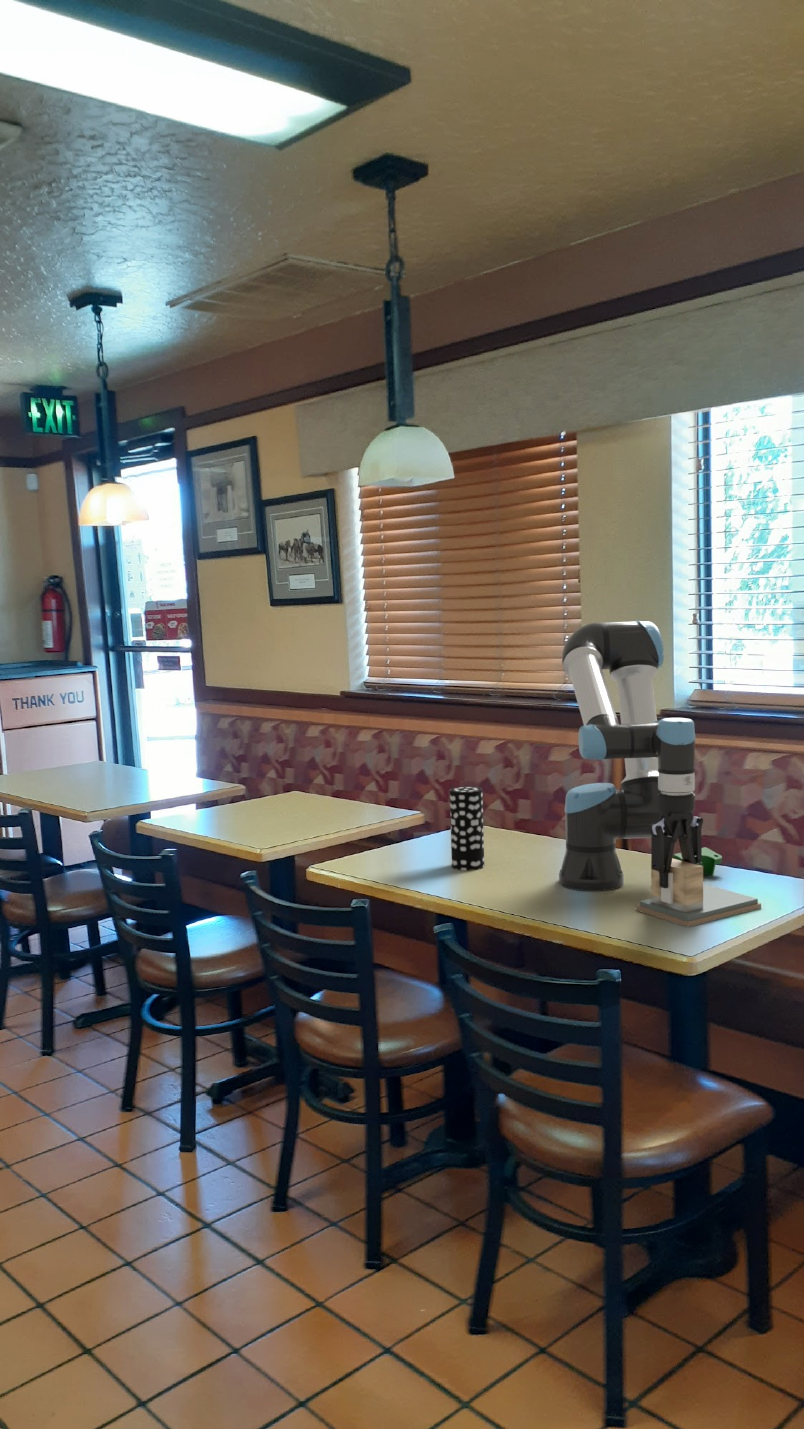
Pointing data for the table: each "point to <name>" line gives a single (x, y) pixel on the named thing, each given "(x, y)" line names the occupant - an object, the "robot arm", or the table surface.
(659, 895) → the wooden block
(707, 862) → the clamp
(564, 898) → the table surface
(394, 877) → the table surface
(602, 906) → the table surface
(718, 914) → the slate board
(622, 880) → the robot arm
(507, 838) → the table surface
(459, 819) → the white-spotted black cylinder
